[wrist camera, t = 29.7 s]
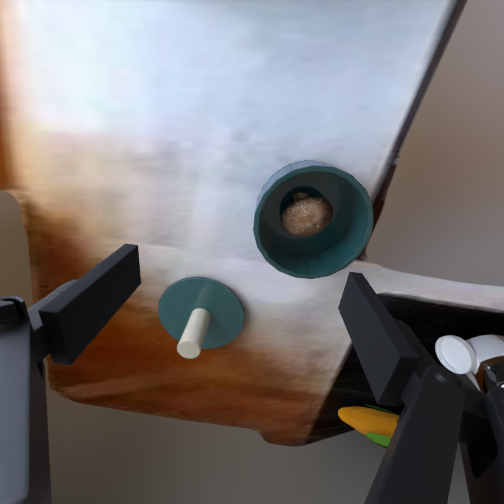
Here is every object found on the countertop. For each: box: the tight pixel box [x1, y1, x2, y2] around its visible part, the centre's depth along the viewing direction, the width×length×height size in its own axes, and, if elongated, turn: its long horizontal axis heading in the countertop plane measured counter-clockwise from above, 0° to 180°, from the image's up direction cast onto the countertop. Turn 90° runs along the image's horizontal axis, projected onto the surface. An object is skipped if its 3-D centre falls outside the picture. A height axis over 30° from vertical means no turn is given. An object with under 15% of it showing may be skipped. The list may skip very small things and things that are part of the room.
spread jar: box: [435, 334, 504, 394], centre depth 47 cm, size 12×11×12 cm
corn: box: [338, 404, 400, 449], centre depth 59 cm, size 7×8×20 cm
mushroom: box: [281, 192, 333, 237], centre depth 40 cm, size 8×8×6 cm
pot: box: [253, 160, 374, 279], centre depth 39 cm, size 16×16×8 cm
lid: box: [158, 277, 244, 359], centre depth 48 cm, size 17×17×10 cm
